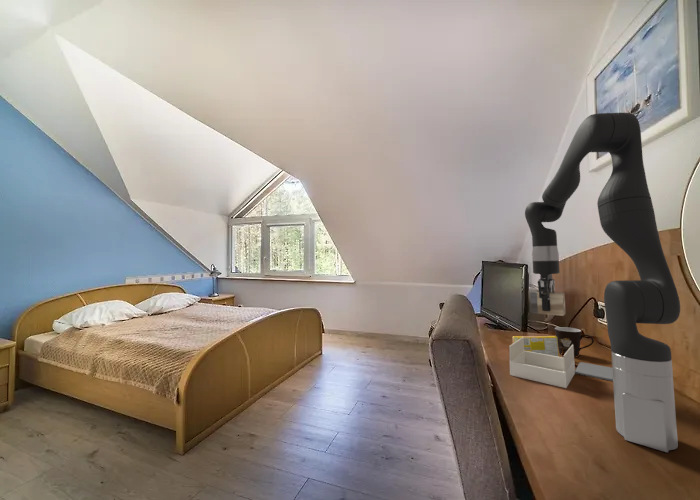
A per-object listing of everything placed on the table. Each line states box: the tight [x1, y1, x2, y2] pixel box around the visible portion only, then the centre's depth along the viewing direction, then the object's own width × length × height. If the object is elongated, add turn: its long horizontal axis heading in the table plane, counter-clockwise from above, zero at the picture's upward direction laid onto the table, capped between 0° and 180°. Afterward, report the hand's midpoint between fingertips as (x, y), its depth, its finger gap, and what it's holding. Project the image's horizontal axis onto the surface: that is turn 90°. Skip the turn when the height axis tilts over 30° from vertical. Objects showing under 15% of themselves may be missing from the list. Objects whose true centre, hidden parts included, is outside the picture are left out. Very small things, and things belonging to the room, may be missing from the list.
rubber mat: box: [574, 361, 613, 382], centre depth 97 cm, size 13×13×1 cm
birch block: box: [529, 291, 567, 317], centre depth 98 cm, size 4×9×7 cm, turn 46°
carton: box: [508, 337, 576, 389], centre depth 97 cm, size 16×15×10 cm
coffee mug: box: [554, 326, 595, 356], centre depth 115 cm, size 12×9×10 cm
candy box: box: [512, 335, 560, 357], centre depth 114 cm, size 16×2×8 cm, turn 84°
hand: (548, 309), depth 98 cm, fingers closed on birch block, 4 cm apart
